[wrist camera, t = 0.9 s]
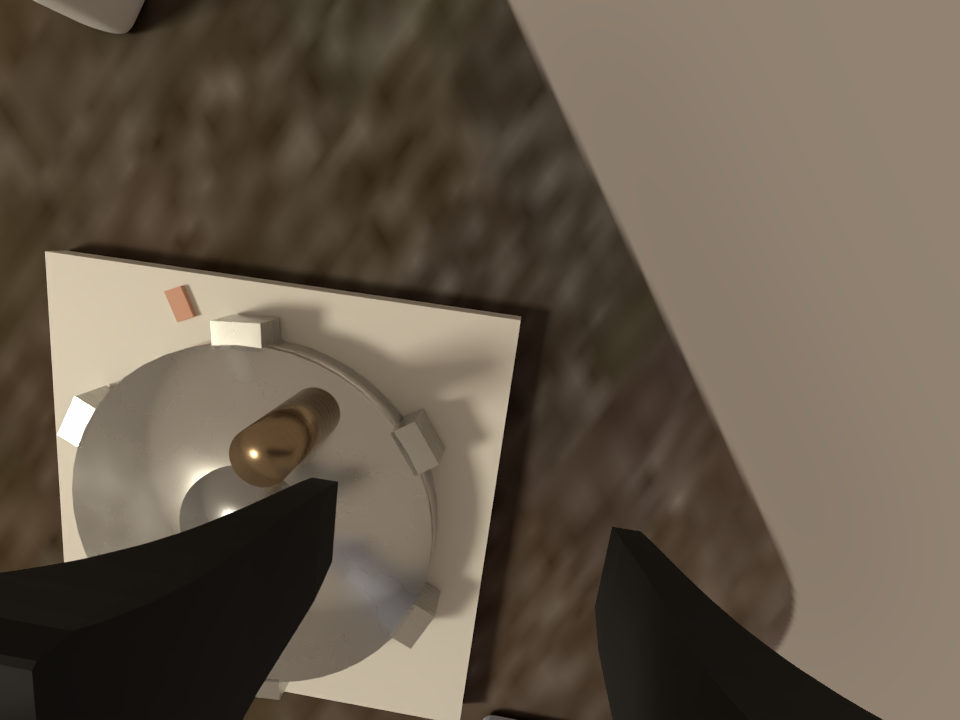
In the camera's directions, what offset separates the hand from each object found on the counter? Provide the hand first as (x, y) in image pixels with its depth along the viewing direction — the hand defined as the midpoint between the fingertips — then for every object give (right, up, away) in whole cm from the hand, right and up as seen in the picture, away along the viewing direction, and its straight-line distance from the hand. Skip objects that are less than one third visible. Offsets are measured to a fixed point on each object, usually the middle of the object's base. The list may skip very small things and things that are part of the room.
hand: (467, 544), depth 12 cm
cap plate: (-8, -2, +11) cm, 14 cm away
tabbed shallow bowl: (-8, -2, +10) cm, 13 cm away
